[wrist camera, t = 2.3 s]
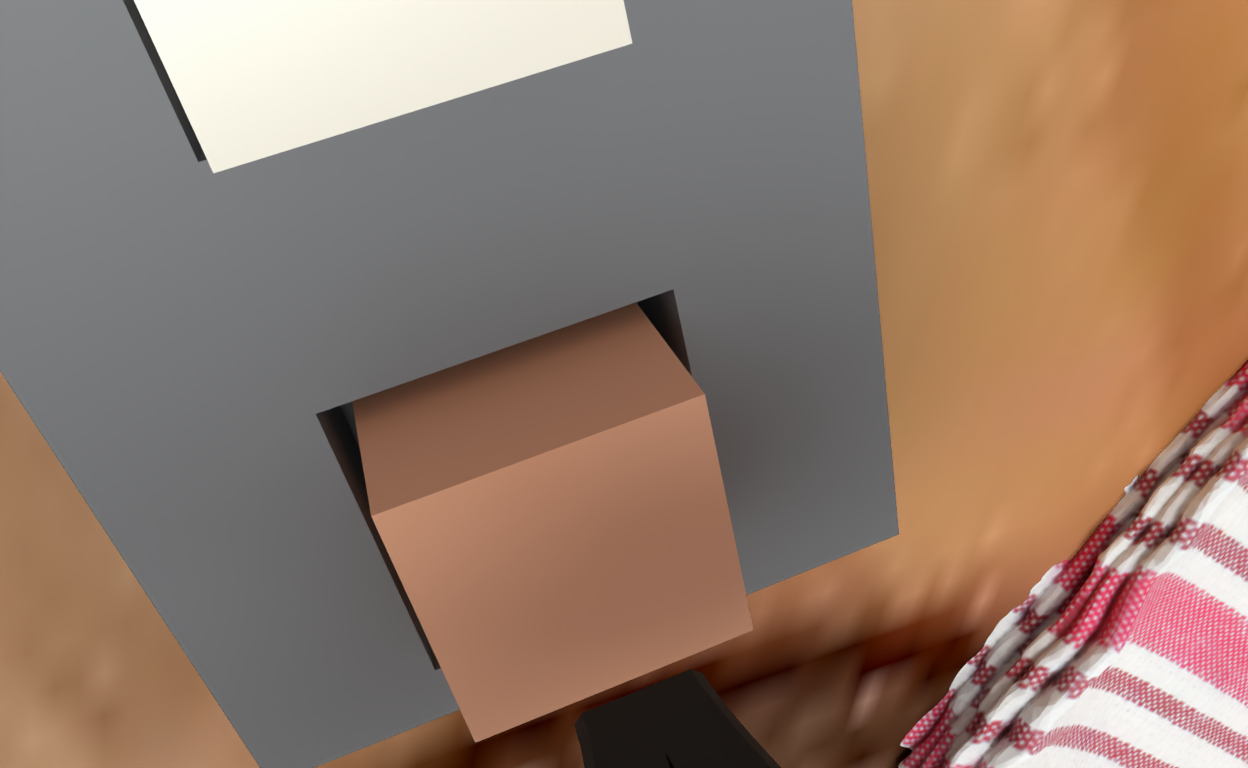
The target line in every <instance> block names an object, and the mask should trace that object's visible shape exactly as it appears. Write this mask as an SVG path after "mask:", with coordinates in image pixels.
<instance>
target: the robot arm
mask: <svg viewBox="0 0 1248 768" xmlns="http://www.w3.org/2000/svg"><path fill="white" fill-rule="evenodd" d="M575 728H576V732H577V735H578V739H579V742H580V746H581V751H582V756H583V761H584V766H585V768H781V767H780V766H779V765H778V764H777V763H776V762H775V761H774V760H773V758H772V757H771V756H770V755H769V754H768V753H767V752H766V751H765V750H764V749H763V748H762V746H761V745H760V744H759V743H758V742H757V741H756V740H755V739H754V738H753V737H752V735H751V734H750V733H749V732H748V731H747V730H746V729H745V727H744V726H743V725H742V724H741V723H740V722H739V720H738V719H737V718H736V717H735V716H734V714H733V713H732V712H731V711H730V710H729V708H728V707H727V706H726V705H725V703H724V702H723V701H722V699H721V698H720V697H719V696H718V694H717V693H716V692H715V690H714V689H713V688H712V686H711V685H710V683H709V682H708V681H707V679H706V678H705V676H704V675H703V673H701V672H698V671H695V670H692V669H690V670H688V671H685V672H683V673H680V674H678V675H676V676H673V677H671V678H668V679H666V680H663V681H661V682H658V683H656V684H653V685H651V686H649V687H646V688H644V689H641V690H639V691H636V692H634V693H631V694H629V695H626V696H624V697H622V698H619V699H617V700H614V701H612V702H609V703H607V704H604V705H602V706H599V707H597V708H594V709H592V710H590V711H587V712H585V713H582V715H581V716H580V718H579V719H578V721H577V722H576V723H575Z"/></svg>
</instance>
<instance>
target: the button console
mask: <svg viewBox="0 0 1248 768" xmlns="http://www.w3.org/2000/svg"><path fill="white" fill-rule="evenodd" d="M624 5H625V10H626V14H627V19H628V24H629V29H630V34H631V39H632V44H629V45H626V46H623V47H619V48H616V49H613V50H610V51H607V52H603V53H600V54H597V55H594V56H590V57H587V58H584V59H581V60H578V61H574V62H571V63H568V64H565V65H561V66H558V67H555V68H552V69H549V70H545V71H542V72H539V73H536V74H532V75H529V76H526V77H523V78H520V79H516V80H513V81H510V82H507V83H503V84H500V85H497V86H494V87H491V88H487V89H484V90H481V91H478V92H474V93H471V94H468V95H465V96H462V97H458V98H455V99H452V100H449V101H445V102H442V103H439V104H436V105H432V106H429V107H426V108H423V109H420V110H416V111H413V112H410V113H407V114H403V115H400V116H397V117H394V118H391V119H387V120H384V121H381V122H378V123H374V124H371V125H368V126H365V127H362V128H358V129H355V130H352V131H349V132H345V133H342V134H339V135H336V136H333V137H329V138H326V139H323V140H320V141H316V142H313V143H310V144H307V145H304V146H300V147H297V148H294V149H291V150H287V151H284V152H281V153H278V154H275V155H271V156H268V157H265V158H262V159H258V160H255V161H252V162H249V163H246V164H242V165H239V166H236V167H233V168H229V169H226V170H223V171H220V172H217V173H213V171H212V169H211V167H210V165H209V163H208V160H207V158H206V156H205V154H204V152H203V150H202V147H201V145H200V143H199V141H198V139H197V137H196V134H195V132H194V130H193V128H192V126H191V123H190V121H189V119H188V117H187V115H186V113H185V110H184V108H183V106H182V104H181V102H180V100H179V97H178V95H177V93H176V91H175V89H174V87H173V84H172V82H171V80H170V78H169V76H168V73H167V71H166V69H165V67H164V65H163V63H162V60H161V58H160V56H159V54H158V52H157V50H156V47H155V45H154V43H153V41H152V39H151V37H150V34H149V32H148V30H147V28H146V26H145V23H144V21H143V19H142V17H141V15H140V13H139V10H138V8H137V6H136V4H135V2H134V0H0V371H1V373H2V375H3V376H4V378H5V379H6V381H7V382H8V384H9V385H10V387H11V388H12V390H13V391H14V393H15V394H16V396H17V397H18V399H19V400H20V402H21V404H22V405H23V407H24V408H25V410H26V411H27V413H28V414H29V416H30V417H31V419H32V420H33V422H34V423H35V425H36V426H37V428H38V429H39V431H40V433H41V434H42V436H43V437H44V439H45V440H46V442H47V443H48V445H49V446H50V448H51V449H52V451H53V452H54V454H55V455H56V457H57V458H58V460H59V462H60V463H61V465H62V466H63V468H64V469H65V471H66V472H67V474H68V475H69V477H70V478H71V480H72V481H73V483H74V484H75V486H76V487H77V489H78V491H79V492H80V494H81V495H82V497H83V498H84V500H85V501H86V503H87V504H88V506H89V507H90V509H91V510H92V512H93V513H94V515H95V517H96V518H97V520H98V521H99V523H100V524H101V526H102V527H103V529H104V530H105V532H106V533H107V535H108V536H109V538H110V539H111V541H112V542H113V544H114V546H115V547H116V549H117V550H118V552H119V553H120V555H121V556H122V558H123V559H124V561H125V562H126V564H127V565H128V567H129V568H130V570H131V571H132V573H133V575H134V576H135V578H136V579H137V581H138V582H139V584H140V585H141V587H142V588H143V590H144V591H145V593H146V594H147V596H148V597H149V599H150V600H151V602H152V604H153V605H154V607H155V608H156V610H157V611H158V613H159V614H160V616H161V617H162V619H163V620H164V622H165V623H166V625H167V626H168V628H169V629H170V631H171V633H172V634H173V636H174V637H175V639H176V640H177V642H178V643H179V645H180V646H181V648H182V649H183V651H184V652H185V654H186V655H187V657H188V658H189V660H190V662H191V663H192V665H193V666H194V668H195V669H196V671H197V672H198V674H199V675H200V677H201V678H202V680H203V681H204V683H205V684H206V686H207V687H208V689H209V691H210V692H211V694H212V695H213V697H214V698H215V700H216V701H217V703H218V704H219V706H220V707H221V709H222V710H223V712H224V713H225V715H226V716H227V718H228V720H229V721H230V723H231V724H232V726H233V727H234V729H235V730H236V732H237V733H238V735H239V736H240V738H241V739H242V741H243V742H244V744H245V745H246V747H247V749H248V750H249V752H250V753H251V755H252V756H253V758H254V759H255V761H256V762H257V764H258V765H259V767H260V768H314V767H317V766H319V765H322V764H325V763H327V762H330V761H332V760H335V759H337V758H340V757H342V756H345V755H347V754H350V753H352V752H355V751H357V750H360V749H362V748H365V747H367V746H370V745H372V744H375V743H377V742H380V741H382V740H385V739H387V738H390V737H392V736H395V735H397V734H400V733H402V732H405V731H407V730H410V729H412V728H415V727H417V726H420V725H422V724H425V723H427V722H430V721H432V720H435V719H437V718H440V717H442V716H445V715H447V714H450V713H452V712H455V711H457V710H460V708H459V706H458V704H457V702H456V699H455V697H454V695H453V693H452V691H451V689H450V686H449V684H448V682H447V680H446V678H445V676H444V673H443V671H442V669H441V667H440V665H439V663H438V660H437V658H436V656H435V654H434V652H433V649H432V647H431V645H430V643H429V641H428V639H427V636H426V634H425V632H424V630H423V628H422V626H421V623H420V621H419V619H418V617H417V615H416V613H415V610H414V608H413V606H412V604H411V602H410V599H409V597H408V595H407V593H406V591H405V589H404V586H403V584H402V582H401V580H400V578H399V576H398V573H397V571H396V569H395V567H394V565H393V563H392V560H391V558H390V556H389V554H388V552H387V549H386V547H385V545H384V543H383V541H382V539H381V536H380V534H379V532H378V530H377V528H376V526H375V523H374V521H373V519H372V517H371V512H370V506H369V500H368V494H367V488H366V482H365V476H364V470H363V464H362V458H361V452H360V446H359V440H358V434H357V428H356V422H355V416H354V410H353V404H352V401H354V400H357V399H360V398H363V397H366V396H369V395H372V394H375V393H377V392H380V391H383V390H386V389H389V388H392V387H395V386H397V385H400V384H403V383H406V382H409V381H412V380H415V379H418V378H420V377H423V376H426V375H429V374H432V373H435V372H438V371H440V370H443V369H446V368H449V367H452V366H455V365H458V364H461V363H463V362H466V361H469V360H472V359H475V358H478V357H481V356H483V355H486V354H489V353H492V352H495V351H498V350H501V349H504V348H506V347H509V346H512V345H515V344H518V343H521V342H524V341H526V340H529V339H532V338H535V337H538V336H541V335H544V334H546V333H549V332H552V331H555V330H558V329H561V328H564V327H567V326H569V325H572V324H575V323H578V322H581V321H584V320H587V319H589V318H592V317H595V316H598V315H601V314H604V313H607V312H610V311H612V310H615V309H618V308H621V307H624V306H627V305H630V304H632V303H635V302H636V303H637V304H638V306H639V307H640V308H641V310H642V311H643V312H644V314H645V315H646V316H647V318H648V319H649V320H650V322H651V323H652V324H653V326H654V327H655V328H656V330H657V331H658V332H659V334H660V335H661V336H662V338H663V339H664V340H665V342H666V343H667V344H668V346H669V347H670V348H671V350H672V351H673V352H674V354H675V355H676V356H677V358H678V359H679V360H680V362H681V363H682V364H683V366H684V367H685V368H686V370H687V371H688V372H689V374H690V375H691V376H692V378H693V379H694V380H695V382H696V383H697V384H698V386H699V387H700V388H701V390H702V391H703V392H704V394H705V397H706V402H707V407H708V412H709V417H710V421H711V426H712V431H713V436H714V441H715V446H716V451H717V455H718V460H719V465H720V470H721V475H722V480H723V484H724V489H725V494H726V499H727V504H728V509H729V514H730V518H731V523H732V528H733V533H734V538H735V543H736V547H737V552H738V557H739V562H740V567H741V572H742V576H743V581H744V586H745V591H746V595H748V594H750V593H753V592H755V591H758V590H760V589H763V588H765V587H768V586H770V585H773V584H775V583H778V582H780V581H783V580H785V579H788V578H790V577H793V576H795V575H798V574H800V573H803V572H805V571H808V570H811V569H813V568H816V567H818V566H821V565H823V564H826V563H828V562H831V561H833V560H836V559H838V558H841V557H843V556H846V555H848V554H851V553H853V552H856V551H858V550H861V549H863V548H866V547H868V546H871V545H873V544H876V543H878V542H881V541H883V540H886V539H888V538H891V537H893V536H896V535H898V534H899V529H898V518H897V506H896V495H895V484H894V472H893V461H892V450H891V438H890V427H889V416H888V404H887V393H886V382H885V370H884V359H883V348H882V336H881V325H880V314H879V302H878V291H877V279H876V268H875V257H874V245H873V234H872V223H871V211H870V200H869V189H868V177H867V166H866V155H865V143H864V132H863V121H862V109H861V98H860V87H859V75H858V64H857V53H856V41H855V30H854V19H853V7H852V0H624Z"/></svg>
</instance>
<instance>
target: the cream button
mask: <svg viewBox="0 0 1248 768" xmlns="http://www.w3.org/2000/svg"><path fill="white" fill-rule="evenodd" d="M134 2H135V4H136V6H137V8H138V10H139V13H140V15H141V17H142V19H143V21H144V23H145V26H146V28H147V30H148V32H149V34H150V37H151V39H152V41H153V43H154V45H155V47H156V50H157V52H158V54H159V56H160V58H161V60H162V63H163V65H164V67H165V69H166V71H167V73H168V76H169V78H170V80H171V82H172V84H173V87H174V89H175V91H176V93H177V95H178V97H179V100H180V102H181V104H182V106H183V108H184V110H185V113H186V115H187V117H188V119H189V121H190V123H191V126H192V128H193V130H194V132H195V134H196V137H197V139H198V141H199V143H200V145H201V147H202V150H203V152H204V154H205V156H206V158H207V160H208V163H209V165H210V167H211V169H212V171H213V173H217V172H220V171H223V170H226V169H229V168H233V167H236V166H239V165H242V164H246V163H249V162H252V161H255V160H258V159H262V158H265V157H268V156H271V155H275V154H278V153H281V152H284V151H287V150H291V149H294V148H297V147H300V146H304V145H307V144H310V143H313V142H316V141H320V140H323V139H326V138H329V137H333V136H336V135H339V134H342V133H345V132H349V131H352V130H355V129H358V128H362V127H365V126H368V125H371V124H374V123H378V122H381V121H384V120H387V119H391V118H394V117H397V116H400V115H403V114H407V113H410V112H413V111H416V110H420V109H423V108H426V107H429V106H432V105H436V104H439V103H442V102H445V101H449V100H452V99H455V98H458V97H462V96H465V95H468V94H471V93H474V92H478V91H481V90H484V89H487V88H491V87H494V86H497V85H500V84H503V83H507V82H510V81H513V80H516V79H520V78H523V77H526V76H529V75H532V74H536V73H539V72H542V71H545V70H549V69H552V68H555V67H558V66H561V65H565V64H568V63H571V62H574V61H578V60H581V59H584V58H587V57H590V56H594V55H597V54H600V53H603V52H607V51H610V50H613V49H616V48H619V47H623V46H626V45H629V44H632V39H631V34H630V29H629V24H628V19H627V14H626V10H625V5H624V0H134Z"/></svg>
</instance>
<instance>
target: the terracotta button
mask: <svg viewBox="0 0 1248 768" xmlns="http://www.w3.org/2000/svg"><path fill="white" fill-rule="evenodd" d="M352 404H353V410H354V416H355V422H356V428H357V434H358V440H359V446H360V452H361V458H362V464H363V470H364V476H365V482H366V488H367V494H368V500H369V506H370V512H371V517H372V519H373V521H374V523H375V526H376V528H377V530H378V532H379V534H380V536H381V539H382V541H383V543H384V545H385V547H386V549H387V552H388V554H389V556H390V558H391V560H392V563H393V565H394V567H395V569H396V571H397V573H398V576H399V578H400V580H401V582H402V584H403V586H404V589H405V591H406V593H407V595H408V597H409V599H410V602H411V604H412V606H413V608H414V610H415V613H416V615H417V617H418V619H419V621H420V623H421V626H422V628H423V630H424V632H425V634H426V636H427V639H428V641H429V643H430V645H431V647H432V649H433V652H434V654H435V656H436V658H437V660H438V663H439V665H440V667H441V669H442V671H443V673H444V676H445V678H446V680H447V682H448V684H449V686H450V689H451V691H452V693H453V695H454V697H455V699H456V702H457V704H458V706H459V708H460V710H461V713H462V715H463V717H464V719H465V721H466V723H467V726H468V728H469V730H470V732H471V734H472V736H473V739H474V741H475V743H476V742H478V741H481V740H483V739H486V738H488V737H491V736H493V735H496V734H498V733H501V732H503V731H505V730H508V729H510V728H513V727H515V726H518V725H520V724H523V723H525V722H528V721H530V720H533V719H535V718H538V717H540V716H543V715H545V714H547V713H550V712H552V711H555V710H557V709H560V708H562V707H565V706H567V705H570V704H572V703H575V702H577V701H580V700H582V699H585V698H587V697H589V696H592V695H594V694H597V693H599V692H602V691H604V690H607V689H609V688H612V687H614V686H617V685H619V684H622V683H624V682H627V681H629V680H631V679H634V678H636V677H639V676H641V675H644V674H646V673H649V672H651V671H654V670H656V669H659V668H661V667H664V666H666V665H668V664H671V663H673V662H676V661H678V660H681V659H683V658H686V657H688V656H691V655H693V654H696V653H698V652H701V651H703V650H706V649H708V648H710V647H713V646H715V645H718V644H720V643H723V642H725V641H728V640H730V639H733V638H735V637H738V636H740V635H743V634H745V633H748V632H750V631H752V630H753V625H752V620H751V615H750V610H749V606H748V601H747V596H746V591H745V586H744V581H743V576H742V572H741V567H740V562H739V557H738V552H737V547H736V543H735V538H734V533H733V528H732V523H731V518H730V514H729V509H728V504H727V499H726V494H725V489H724V484H723V480H722V475H721V470H720V465H719V460H718V455H717V451H716V446H715V441H714V436H713V431H712V426H711V421H710V417H709V412H708V407H707V402H706V397H705V394H704V392H703V391H702V390H701V388H700V387H699V386H698V384H697V383H696V382H695V380H694V379H693V378H692V376H691V375H690V374H689V372H688V371H687V370H686V368H685V367H684V366H683V364H682V363H681V362H680V360H679V359H678V358H677V356H676V355H675V354H674V352H673V351H672V350H671V348H670V347H669V346H668V344H667V343H666V342H665V340H664V339H663V338H662V336H661V335H660V334H659V332H658V331H657V330H656V328H655V327H654V326H653V324H652V323H651V322H650V320H649V319H648V318H647V316H646V315H645V314H644V312H643V311H642V310H641V308H640V307H639V306H638V304H637V303H636V302H635V303H632V304H630V305H627V306H624V307H621V308H618V309H615V310H612V311H610V312H607V313H604V314H601V315H598V316H595V317H592V318H589V319H587V320H584V321H581V322H578V323H575V324H572V325H569V326H567V327H564V328H561V329H558V330H555V331H552V332H549V333H546V334H544V335H541V336H538V337H535V338H532V339H529V340H526V341H524V342H521V343H518V344H515V345H512V346H509V347H506V348H504V349H501V350H498V351H495V352H492V353H489V354H486V355H483V356H481V357H478V358H475V359H472V360H469V361H466V362H463V363H461V364H458V365H455V366H452V367H449V368H446V369H443V370H440V371H438V372H435V373H432V374H429V375H426V376H423V377H420V378H418V379H415V380H412V381H409V382H406V383H403V384H400V385H397V386H395V387H392V388H389V389H386V390H383V391H380V392H377V393H375V394H372V395H369V396H366V397H363V398H360V399H357V400H354V401H352Z"/></svg>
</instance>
